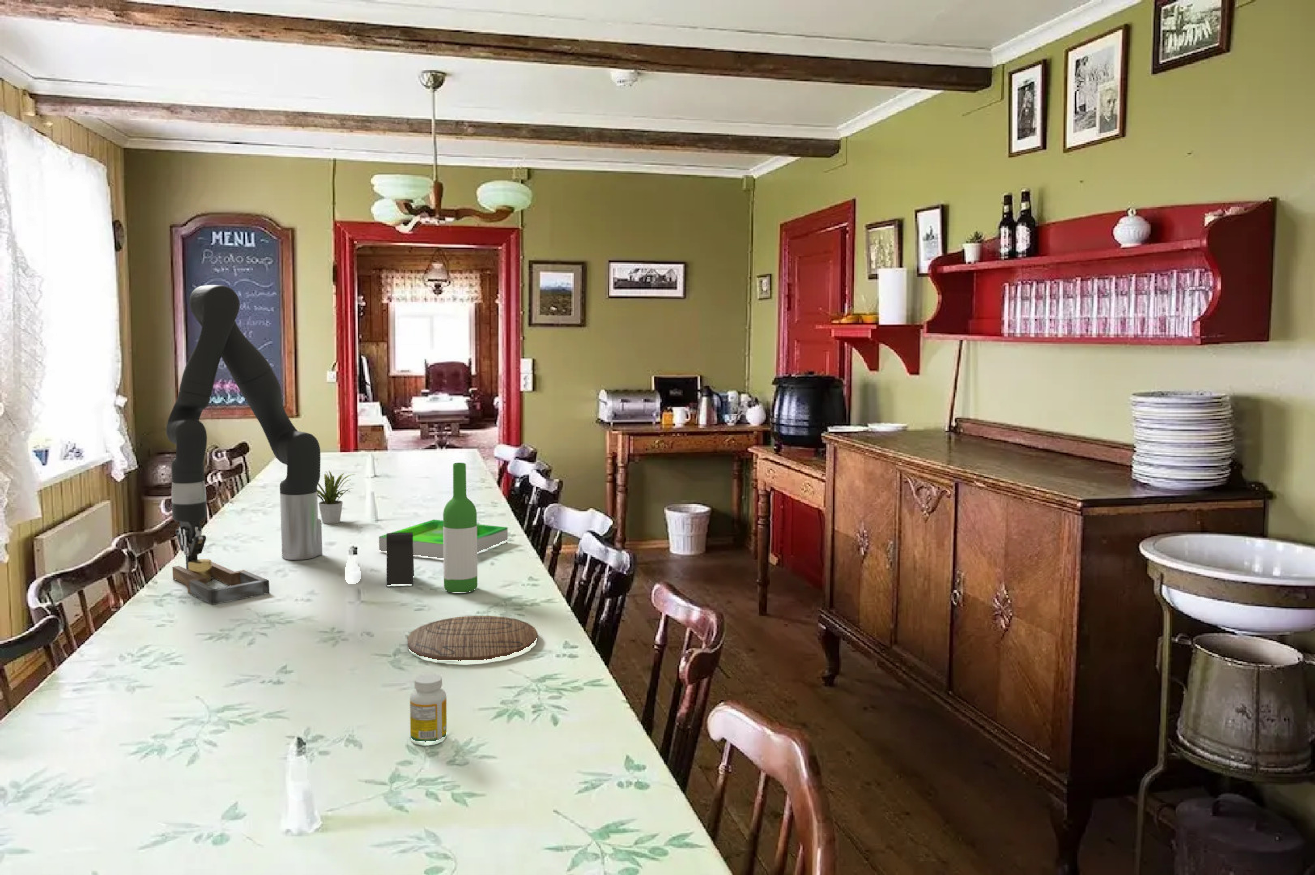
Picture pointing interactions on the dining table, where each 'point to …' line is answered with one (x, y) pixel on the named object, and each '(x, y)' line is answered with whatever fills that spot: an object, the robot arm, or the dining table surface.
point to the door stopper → (400, 558)
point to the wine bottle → (460, 537)
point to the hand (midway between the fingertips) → (192, 570)
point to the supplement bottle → (428, 709)
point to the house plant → (331, 499)
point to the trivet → (471, 638)
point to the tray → (431, 538)
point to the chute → (239, 580)
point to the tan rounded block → (201, 568)
